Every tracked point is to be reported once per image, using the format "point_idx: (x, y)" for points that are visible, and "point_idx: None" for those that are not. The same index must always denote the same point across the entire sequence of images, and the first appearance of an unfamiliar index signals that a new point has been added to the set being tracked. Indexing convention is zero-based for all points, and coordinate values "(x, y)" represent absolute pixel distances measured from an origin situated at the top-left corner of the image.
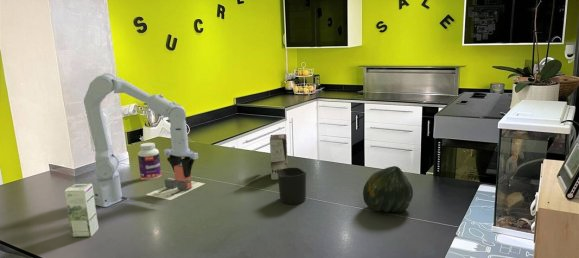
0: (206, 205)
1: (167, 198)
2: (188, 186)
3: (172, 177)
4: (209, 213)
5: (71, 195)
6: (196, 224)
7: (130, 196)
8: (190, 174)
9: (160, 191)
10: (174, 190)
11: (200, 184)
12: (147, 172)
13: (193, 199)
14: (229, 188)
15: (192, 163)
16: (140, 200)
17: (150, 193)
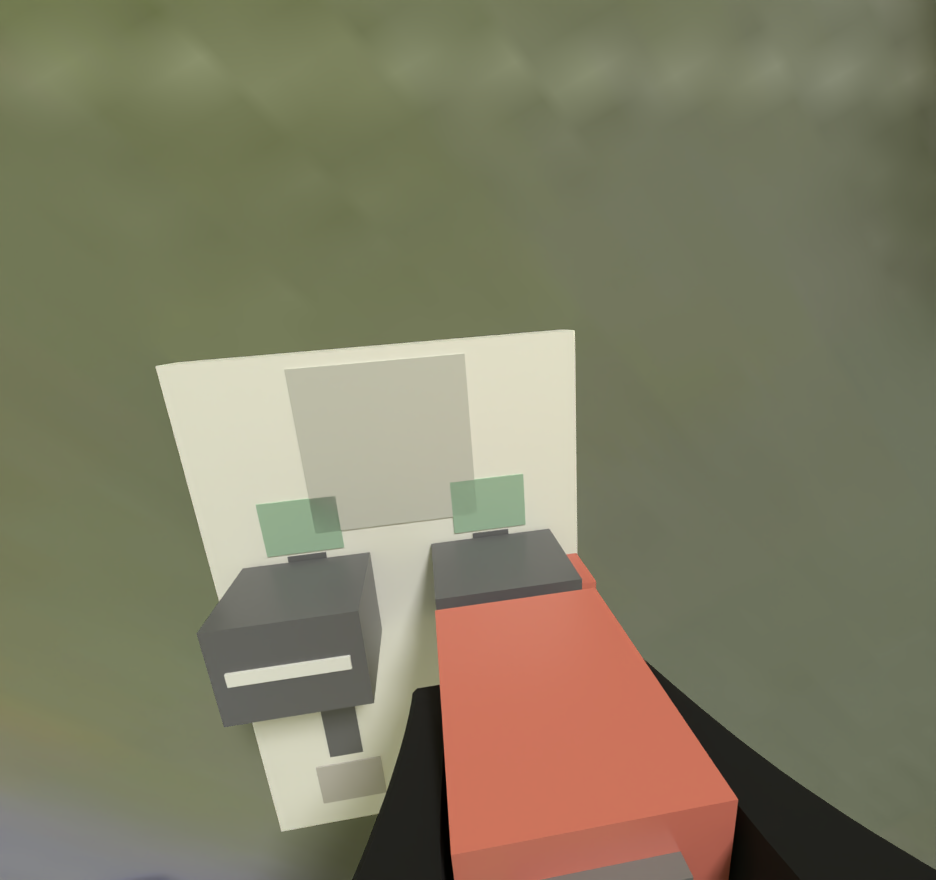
0: (839, 636)
1: None
2: None
3: (243, 631)
4: (923, 703)
5: None
6: (921, 818)
7: (134, 849)
8: (619, 634)
9: (329, 730)
10: (428, 646)
11: (543, 384)
12: None
13: (676, 617)
14: (836, 240)
15: (908, 878)
16: (301, 840)
17: (290, 796)
